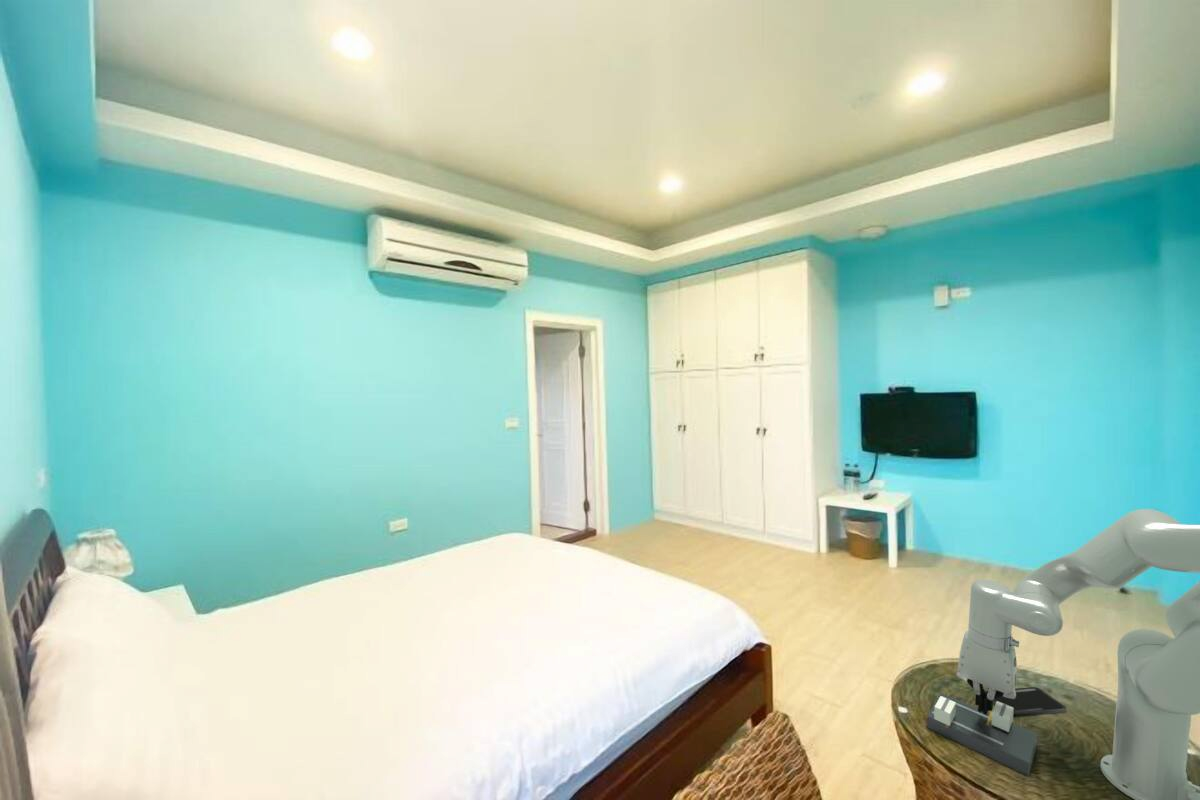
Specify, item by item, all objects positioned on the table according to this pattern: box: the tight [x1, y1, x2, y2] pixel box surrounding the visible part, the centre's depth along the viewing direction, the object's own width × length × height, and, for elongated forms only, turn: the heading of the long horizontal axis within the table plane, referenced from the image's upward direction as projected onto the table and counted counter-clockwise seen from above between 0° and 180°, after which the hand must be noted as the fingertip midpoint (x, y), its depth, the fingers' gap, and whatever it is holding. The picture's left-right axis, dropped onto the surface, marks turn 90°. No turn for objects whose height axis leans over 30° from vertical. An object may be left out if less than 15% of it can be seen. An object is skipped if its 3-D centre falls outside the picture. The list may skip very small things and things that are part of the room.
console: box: [926, 691, 1038, 777], centre depth 110 cm, size 18×13×3 cm
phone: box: [985, 686, 1067, 718], centre depth 120 cm, size 8×1×15 cm
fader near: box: [934, 696, 956, 726], centre depth 112 cm, size 3×5×3 cm, turn 132°
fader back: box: [992, 701, 1014, 732], centre depth 110 cm, size 3×5×3 cm, turn 132°
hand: (983, 710), depth 112 cm, fingers closed
